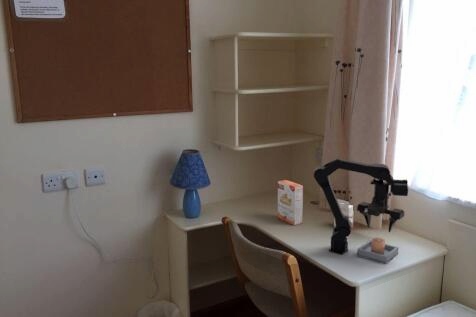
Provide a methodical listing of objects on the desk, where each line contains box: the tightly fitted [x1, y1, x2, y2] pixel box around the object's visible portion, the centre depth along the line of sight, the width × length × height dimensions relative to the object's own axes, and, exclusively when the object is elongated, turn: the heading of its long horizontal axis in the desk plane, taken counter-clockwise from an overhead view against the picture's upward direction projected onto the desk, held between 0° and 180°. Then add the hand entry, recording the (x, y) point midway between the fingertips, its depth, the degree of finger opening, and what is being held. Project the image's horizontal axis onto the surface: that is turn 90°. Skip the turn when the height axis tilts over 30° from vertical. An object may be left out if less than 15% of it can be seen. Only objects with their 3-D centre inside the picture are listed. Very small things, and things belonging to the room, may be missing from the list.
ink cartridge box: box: [333, 198, 354, 229], centre depth 220 cm, size 9×5×15 cm, turn 45°
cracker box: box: [277, 179, 304, 226], centre depth 229 cm, size 14×6×21 cm, turn 33°
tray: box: [356, 239, 400, 265], centre depth 189 cm, size 13×13×3 cm
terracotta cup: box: [371, 236, 386, 255], centre depth 188 cm, size 6×6×6 cm
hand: (379, 229), depth 187 cm, fingers open, 9 cm apart
